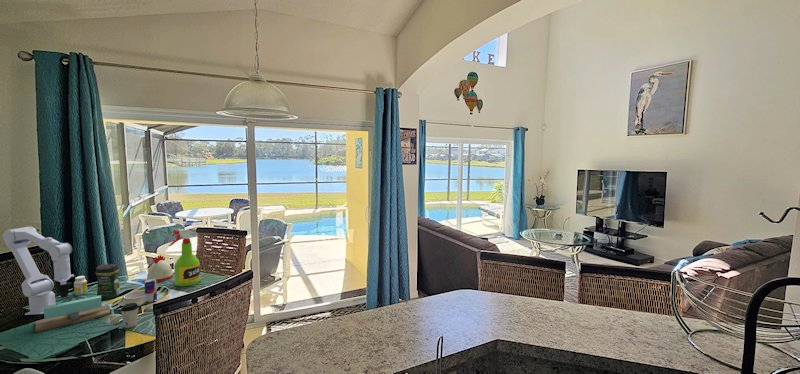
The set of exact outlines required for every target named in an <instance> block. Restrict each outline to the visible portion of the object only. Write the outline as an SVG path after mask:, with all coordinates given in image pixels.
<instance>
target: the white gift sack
mask: <svg viewBox="0 0 800 374" xmlns="http://www.w3.org/2000/svg"><path fill="white" fill-rule="evenodd" d="M147 271H148V273H147V276H146V280H147V279H156V283H158V282H163V281H164V282H165V281H168V280H170V279H172V278H173V277H174V270H173V268H172V267H171V265H170V263H168V262H167V261H166V257H165V256H163V255H161V254H160V255H158V256H155V258H154V259H153V263H152V265H150V267H149V268H148V269H147Z"/></svg>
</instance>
